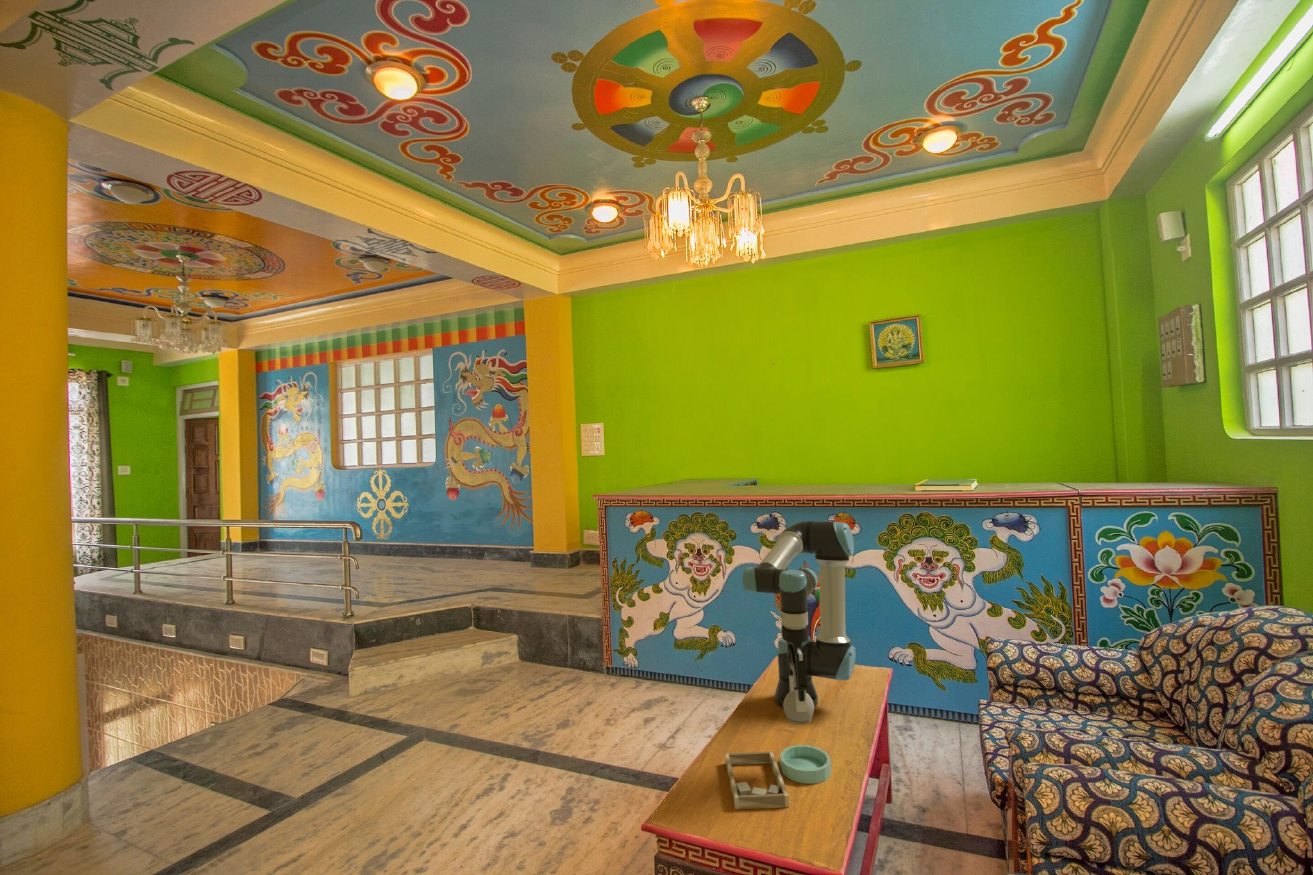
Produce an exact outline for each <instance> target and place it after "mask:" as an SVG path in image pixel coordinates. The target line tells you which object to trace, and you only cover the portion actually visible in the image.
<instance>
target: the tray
mask: <svg viewBox="0 0 1313 875" xmlns="http://www.w3.org/2000/svg"><path fill="white" fill-rule="evenodd" d="M724 755H725V757H724V759H725V766H726V772H727V776H728V782H729V785H730V786H729V787H730V791H731V795H732V801H733V806H734V809H735V810H752V809H756V810H757V809H776V808H777V809H778V808H779V809H780V808H789V807H790V795H789V792H788V791H787V787H786V785H785V781H784V778H783V777H782V772H781V771H780V768H779V766H778V763H777V760H776V758H775V755H774V752H773V750H772V751H771V750H770V751H751V752H750V751H749V752H729V753H728V752H726V753H724ZM763 764H764V765H765V764H766V765H767V764H769V765H770V767H771V771H772V773H773V775H774V778H775V782H776V784H777V786H780V794H768V793H767V794H761V795H752V794H751V795H738V793H737V788H736V781H735V775H734V771H733V766H737V765H739V766H740V765H741V766H742V765H746V766H747V765H763Z"/></svg>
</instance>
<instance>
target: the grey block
mask: <svg viewBox="0 0 1313 875" xmlns="http://www.w3.org/2000/svg"><path fill="white" fill-rule="evenodd" d="M735 784H736V788H737V793H738V795H752V789H751V787H750V785H749V783H748V781H742V782H735Z"/></svg>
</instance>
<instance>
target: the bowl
mask: <svg viewBox="0 0 1313 875" xmlns="http://www.w3.org/2000/svg"><path fill="white" fill-rule="evenodd" d="M779 763H780V764H779V766H780V768H779V769H780V770H781V771H780V772H781V774H783V776H784V777H786V778H787V779H789V780H792V781H793V782H796V783H801V784H807V785H811V784H820V783H823V782H825V781H827V780H828V779H829V778H830V777H831V775H832V759H831V757H830V755H829V752H826V751H825V750H823V749H822V748H819V747H816V746H815V745H814V746H813V745H808V744H796V745H791V746H787V747H786V748H783V750H782V751H781V752H780V755H779Z"/></svg>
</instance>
